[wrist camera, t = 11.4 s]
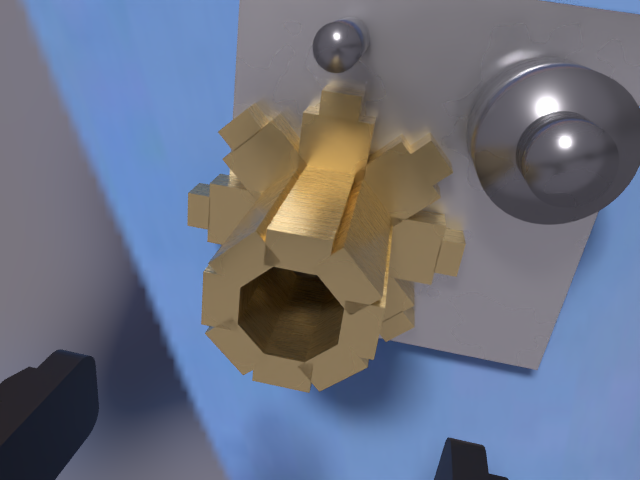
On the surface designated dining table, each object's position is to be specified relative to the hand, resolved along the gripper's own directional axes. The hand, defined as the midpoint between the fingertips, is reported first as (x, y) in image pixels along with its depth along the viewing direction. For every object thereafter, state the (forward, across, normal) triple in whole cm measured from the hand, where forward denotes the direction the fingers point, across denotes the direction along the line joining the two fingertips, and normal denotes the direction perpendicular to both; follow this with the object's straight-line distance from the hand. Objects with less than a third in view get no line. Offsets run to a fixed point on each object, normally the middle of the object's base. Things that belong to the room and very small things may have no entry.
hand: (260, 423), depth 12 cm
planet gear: (+11, 0, 0) cm, 11 cm away
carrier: (+12, -2, -2) cm, 13 cm away
